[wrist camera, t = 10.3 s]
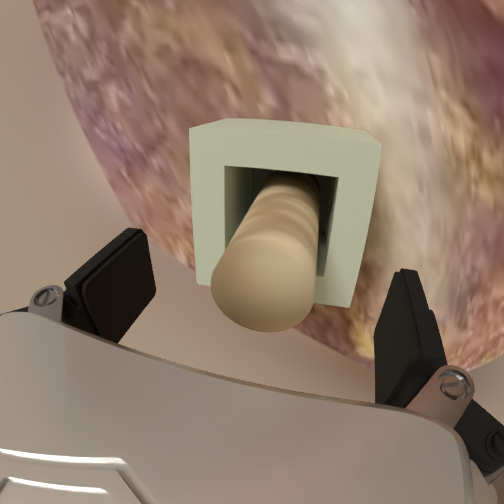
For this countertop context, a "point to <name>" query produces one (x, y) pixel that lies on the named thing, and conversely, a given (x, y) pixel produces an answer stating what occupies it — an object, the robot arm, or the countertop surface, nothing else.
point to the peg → (272, 256)
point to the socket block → (287, 159)
